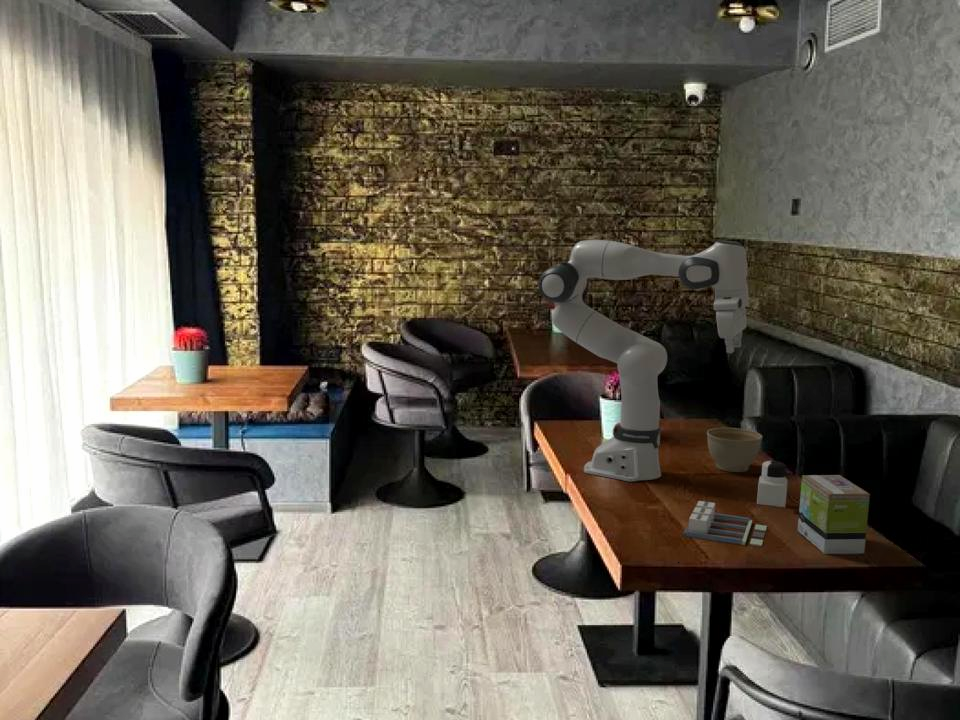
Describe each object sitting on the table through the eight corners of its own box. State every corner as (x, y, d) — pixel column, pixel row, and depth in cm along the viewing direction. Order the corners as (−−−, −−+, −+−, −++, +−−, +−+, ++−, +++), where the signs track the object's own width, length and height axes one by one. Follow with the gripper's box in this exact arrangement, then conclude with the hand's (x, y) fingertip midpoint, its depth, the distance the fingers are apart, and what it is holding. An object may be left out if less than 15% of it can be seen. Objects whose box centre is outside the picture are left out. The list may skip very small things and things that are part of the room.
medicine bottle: (785, 504, 246) (789, 460, 244) (784, 512, 239) (788, 467, 237) (757, 500, 248) (761, 457, 246) (756, 508, 241) (759, 464, 239)
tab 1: (695, 521, 226) (696, 504, 225) (697, 516, 229) (698, 500, 229) (711, 523, 224) (713, 507, 223) (714, 518, 228) (715, 502, 227)
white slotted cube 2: (691, 527, 221) (692, 511, 220) (694, 522, 224) (695, 506, 224) (708, 530, 219) (709, 513, 218) (711, 525, 223) (712, 508, 222)
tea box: (795, 532, 224) (800, 473, 222) (835, 532, 225) (840, 473, 222) (823, 555, 209) (829, 492, 207) (865, 554, 210) (872, 492, 208)
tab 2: (688, 534, 215) (689, 517, 215) (690, 529, 219) (691, 512, 218) (705, 537, 214) (706, 520, 213) (707, 532, 218) (709, 515, 217)
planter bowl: (699, 460, 288) (702, 426, 286) (751, 462, 288) (754, 428, 286) (710, 474, 272) (713, 439, 270) (765, 477, 272) (768, 441, 270)
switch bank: (662, 538, 216) (663, 528, 216) (676, 516, 233) (676, 507, 232) (764, 554, 208) (765, 544, 208) (770, 530, 225) (771, 520, 224)
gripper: (728, 296, 262) (730, 344, 264) (712, 304, 244) (714, 356, 246) (750, 295, 259) (752, 343, 261) (736, 304, 241) (738, 355, 243)
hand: (734, 349), depth 254 cm, fingers open, 8 cm apart
